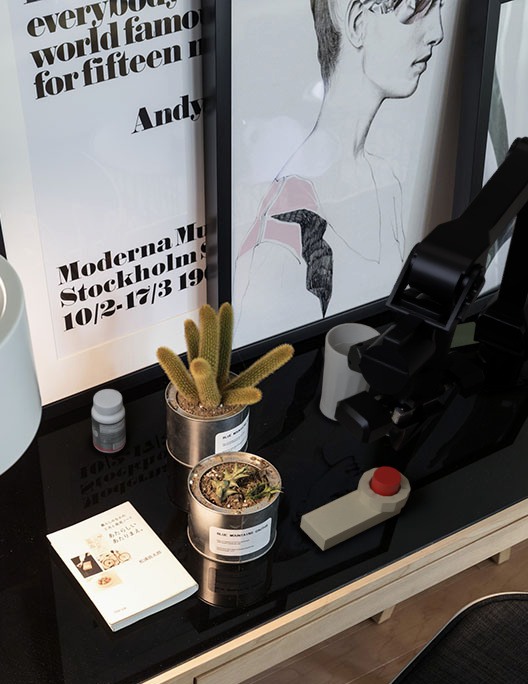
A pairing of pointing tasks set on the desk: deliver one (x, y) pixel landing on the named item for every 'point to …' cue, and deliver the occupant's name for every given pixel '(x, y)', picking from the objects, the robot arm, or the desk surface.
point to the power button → (386, 481)
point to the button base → (353, 512)
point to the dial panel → (465, 340)
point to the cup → (342, 365)
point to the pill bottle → (108, 421)
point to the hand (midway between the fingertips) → (396, 447)
